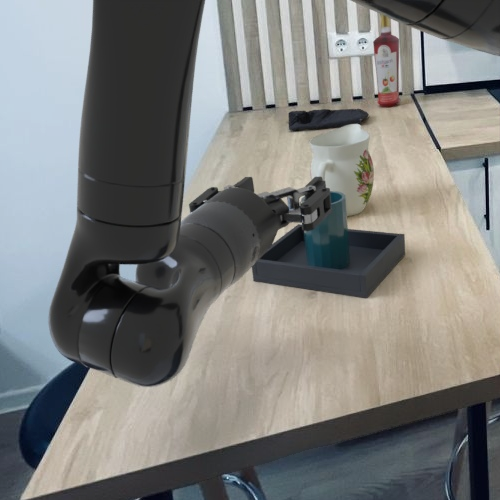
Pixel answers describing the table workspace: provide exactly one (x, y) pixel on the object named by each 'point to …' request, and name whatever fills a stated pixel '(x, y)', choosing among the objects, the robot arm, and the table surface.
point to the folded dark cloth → (324, 118)
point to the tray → (326, 279)
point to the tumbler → (330, 237)
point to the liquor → (387, 65)
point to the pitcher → (344, 164)
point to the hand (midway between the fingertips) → (284, 184)
